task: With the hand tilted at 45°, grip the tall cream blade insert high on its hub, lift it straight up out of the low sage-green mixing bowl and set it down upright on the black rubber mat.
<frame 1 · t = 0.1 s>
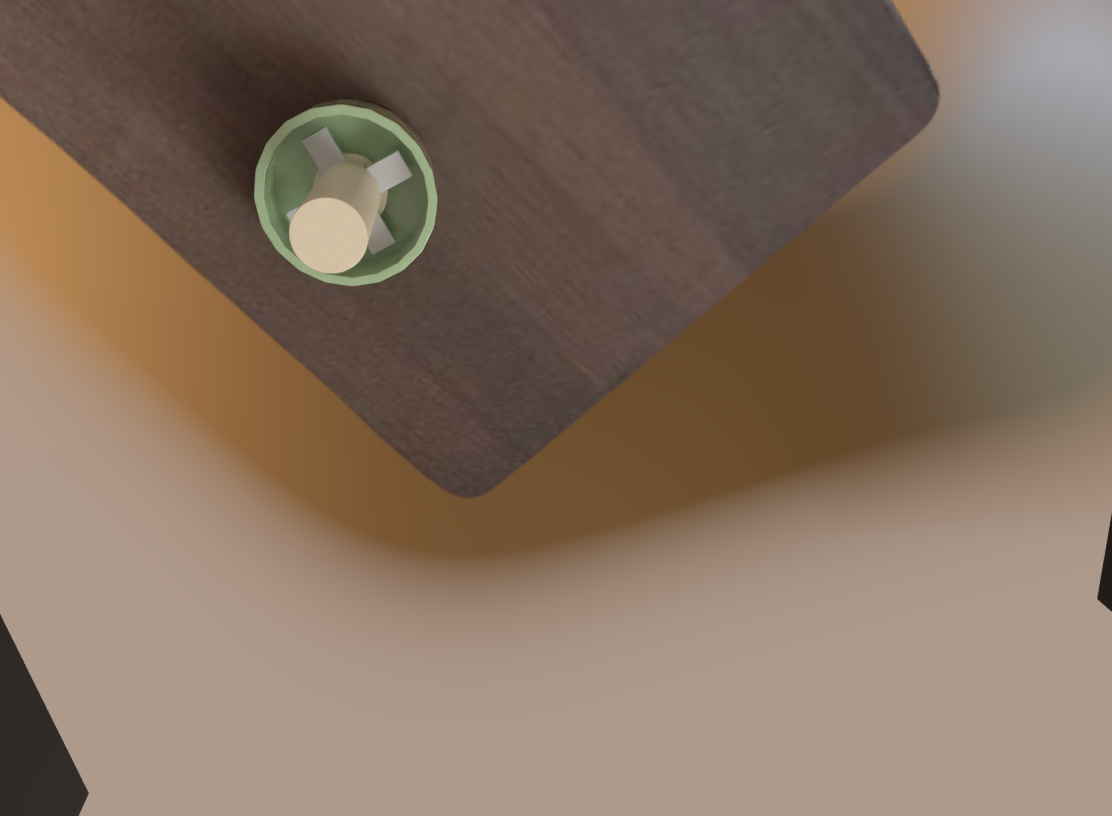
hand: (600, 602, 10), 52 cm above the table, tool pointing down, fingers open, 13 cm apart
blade: (352, 188, 58), point 1 cm above the table, touching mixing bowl
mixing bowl: (352, 186, 59), on the table
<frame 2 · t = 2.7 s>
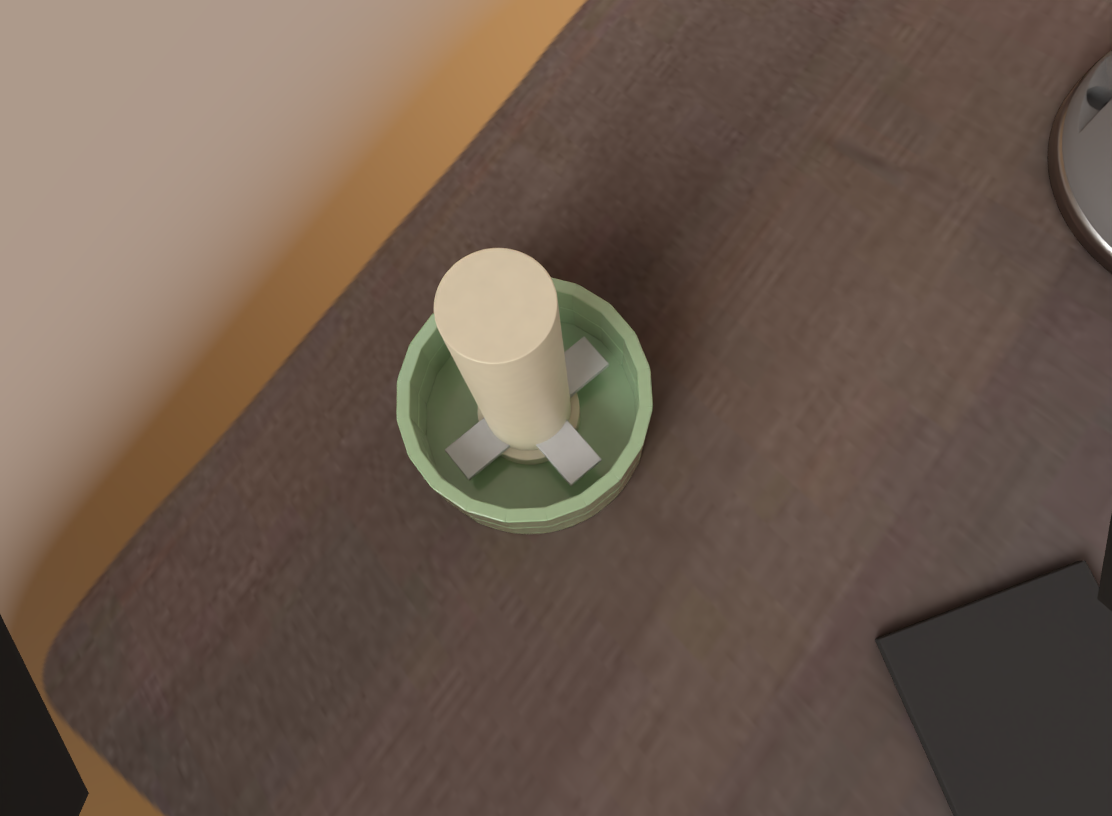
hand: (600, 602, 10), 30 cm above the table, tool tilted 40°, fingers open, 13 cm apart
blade: (530, 415, 42), point 1 cm above the table, touching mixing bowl
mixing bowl: (531, 419, 42), on the table
mat: (1030, 710, 38), on the table
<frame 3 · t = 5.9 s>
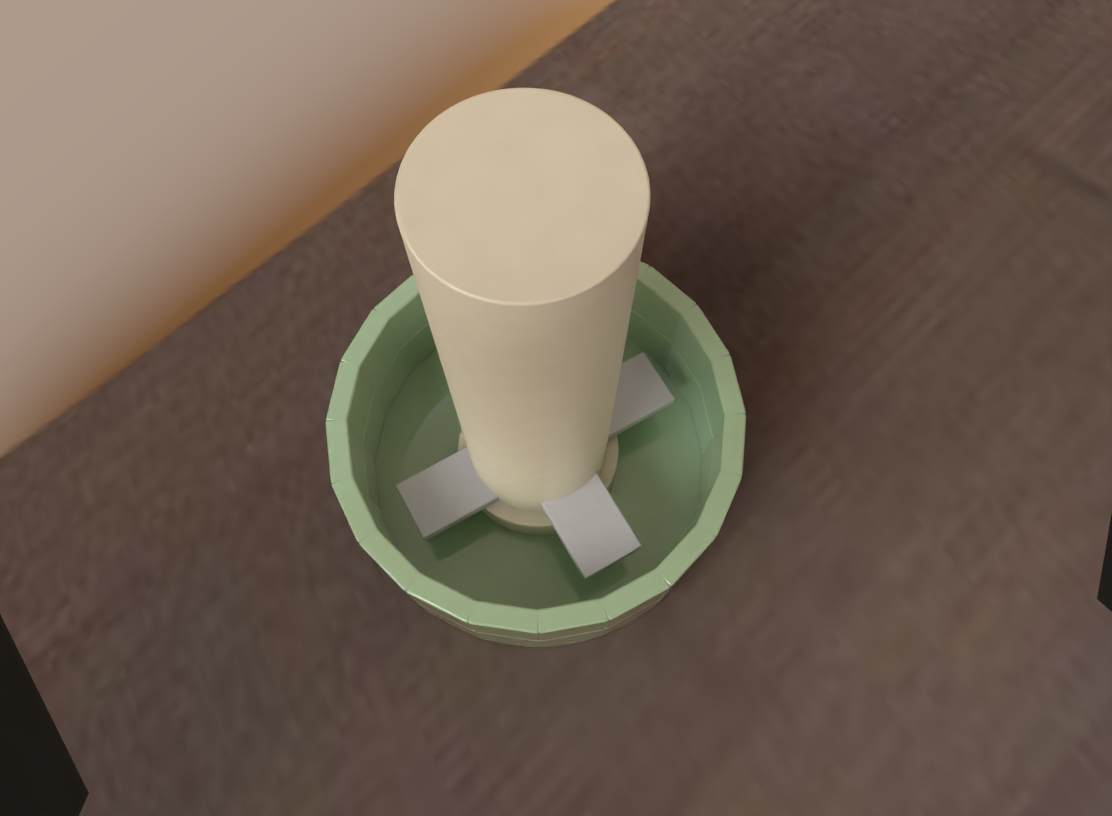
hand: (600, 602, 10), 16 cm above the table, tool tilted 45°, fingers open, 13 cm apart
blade: (538, 459, 27), point 1 cm above the table, touching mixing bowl
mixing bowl: (539, 464, 27), on the table
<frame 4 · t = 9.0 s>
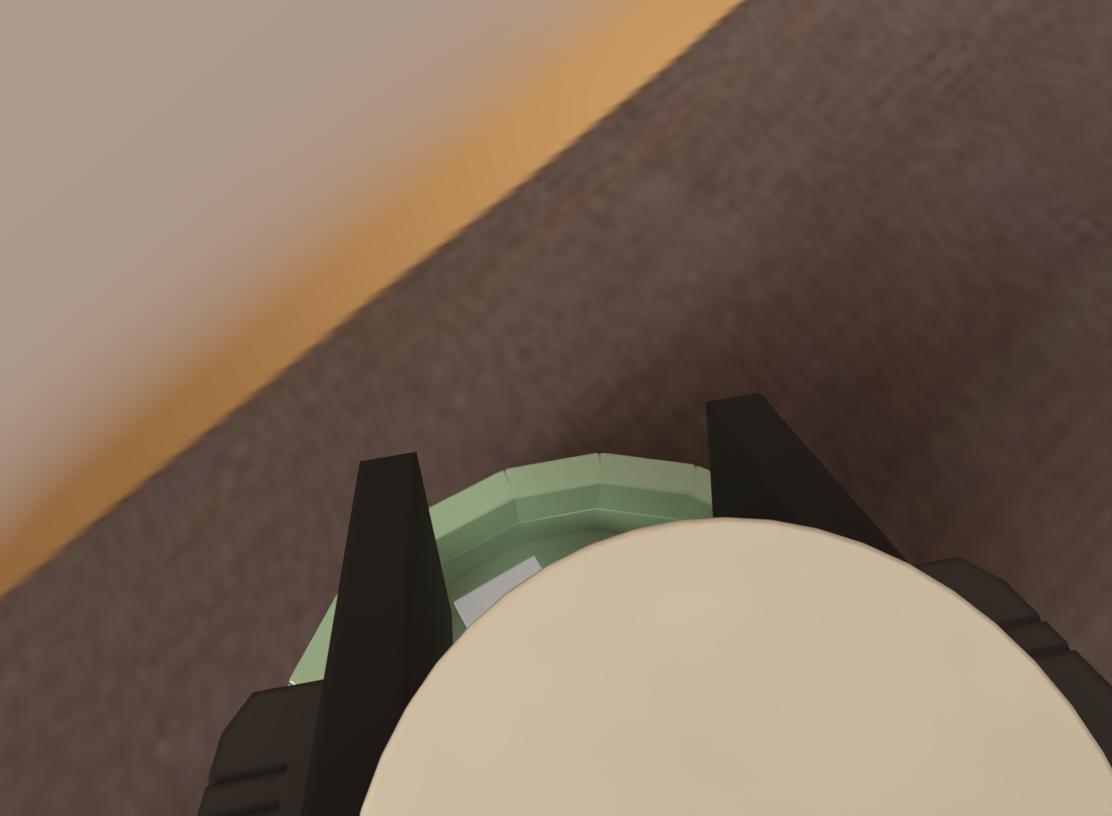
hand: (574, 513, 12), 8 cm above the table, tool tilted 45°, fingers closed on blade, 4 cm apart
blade: (602, 776, 18), point 1 cm above the table, touching gripper, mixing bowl
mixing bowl: (600, 774, 18), on the table
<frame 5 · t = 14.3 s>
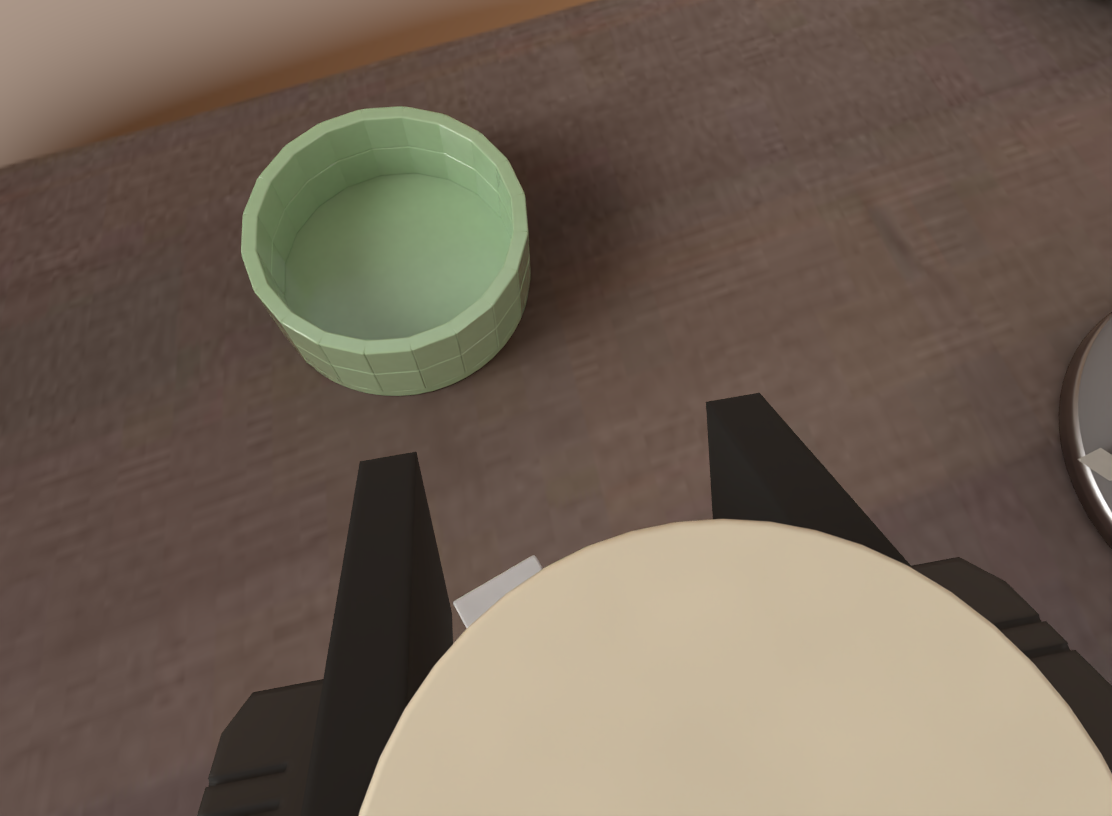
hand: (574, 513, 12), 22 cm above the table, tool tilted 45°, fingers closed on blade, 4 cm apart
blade: (601, 777, 18), point 15 cm above the table, touching gripper
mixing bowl: (403, 278, 38), on the table
when the fingers open (8 cm above the table, at t = 19.5 s): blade stays where it is, resting on mat.
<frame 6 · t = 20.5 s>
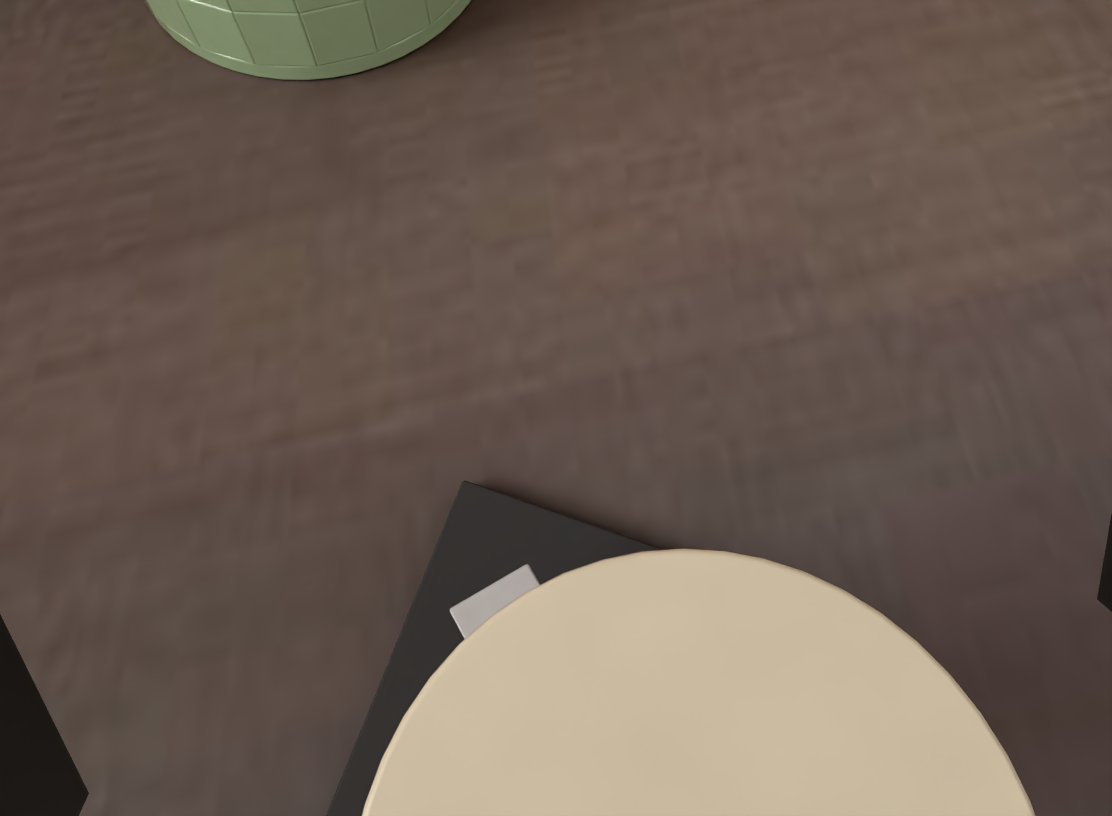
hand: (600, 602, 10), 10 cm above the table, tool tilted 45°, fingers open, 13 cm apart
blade: (592, 777, 18), point 1 cm above the table, touching mat
mat: (594, 770, 19), on the table
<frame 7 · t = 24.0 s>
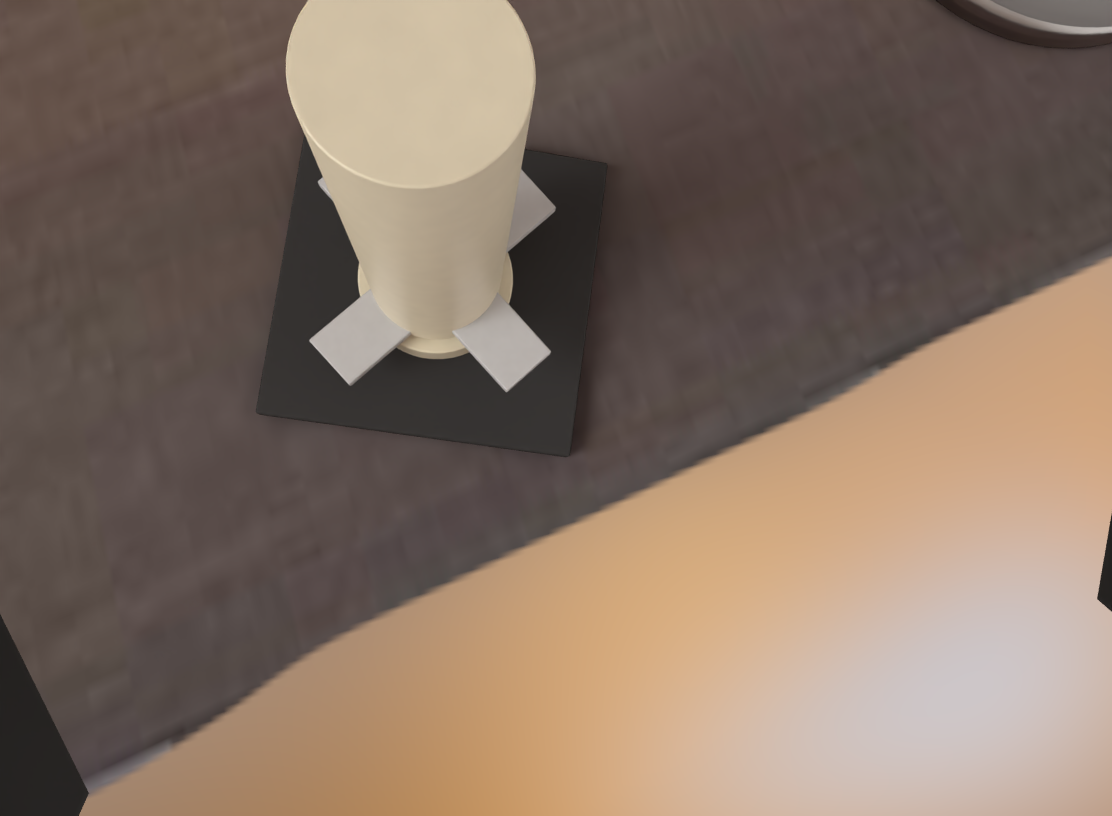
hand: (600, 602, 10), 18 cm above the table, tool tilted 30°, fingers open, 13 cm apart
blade: (437, 286, 28), point 1 cm above the table, touching mat
mat: (438, 287, 29), on the table
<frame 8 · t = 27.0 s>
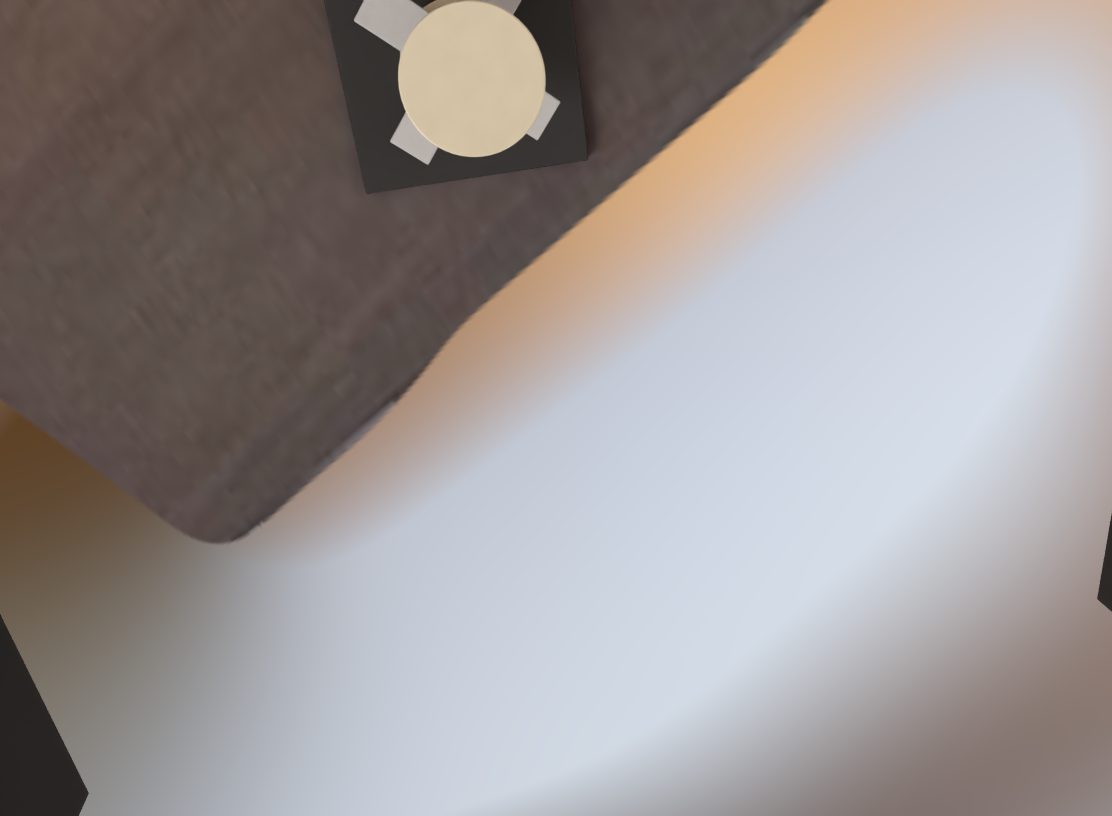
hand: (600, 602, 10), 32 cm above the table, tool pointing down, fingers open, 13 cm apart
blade: (458, 60, 36), point 1 cm above the table, touching mat
mat: (458, 56, 37), on the table
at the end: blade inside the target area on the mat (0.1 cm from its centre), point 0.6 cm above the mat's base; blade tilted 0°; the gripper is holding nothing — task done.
